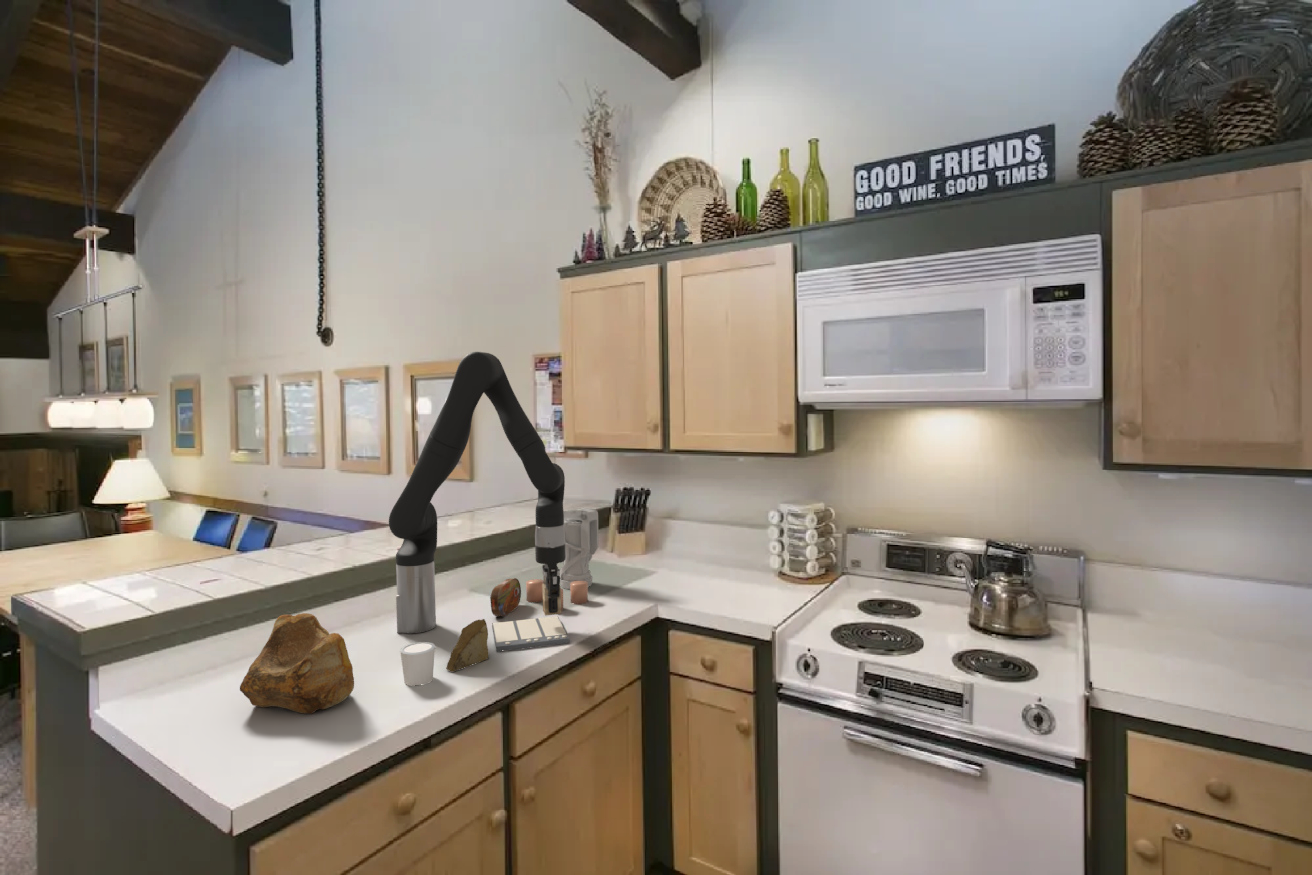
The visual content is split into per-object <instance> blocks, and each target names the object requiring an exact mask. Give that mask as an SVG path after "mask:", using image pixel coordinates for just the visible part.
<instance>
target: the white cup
mask: <svg viewBox="0 0 1312 875" xmlns="http://www.w3.org/2000/svg"><path fill="white" fill-rule="evenodd" d="M399 652H400V658H401V667H402V673H403V680H404V684H405V685H406V684H407V685H406V686H408V685H412V686H411V687H416V686H415V685H421V684H425V685H427V684H429V683H431V682H432V681H433V679H434V670H435V669H434V668H435V667H434V666H435V652H436V645H435V644H434V643H433V642H428V641H427V642H426V641H421V642H414V643H409V644H407V645H404V646H403V647H401V649H400V651H399ZM431 680H432V681H431ZM430 681H431V682H430ZM421 686H422V685H421Z"/></svg>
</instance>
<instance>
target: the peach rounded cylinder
mask: <svg viewBox="0 0 1312 875" xmlns="http://www.w3.org/2000/svg"><path fill="white" fill-rule="evenodd" d="M525 583H526V584H525V585H526V586H525V587H526V602H527V601H528V603H532V602H535V603H540V601H541V602H543V589H542V584H544V583H543V579H539V578H535V579H529V580H526V581H525Z"/></svg>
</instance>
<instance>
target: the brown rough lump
mask: <svg viewBox="0 0 1312 875" xmlns="http://www.w3.org/2000/svg"><path fill="white" fill-rule="evenodd" d="M351 662H352V661H351V659H350V658H349V652H348V648H347V644H346V641H345V639H344V637H342V636H341V635H340V634H339V633H338V632H337V633H336V632H332V633H330V632H329V631H328V630H327V629H325V627H323V626H322V625H321V624H320V622H319V619H318V618H317V617H316V615H314V614H312V613H306V612H304V613H298V614H295V615H292V614H282V615H279V616H278V617H277V618H276V619H275V622H274V623H273V627H272V631H271V633H270V635H269V637H268V640H267V641H266V643H265V645H264V646H263V647H262V649H261V651H260V653H259V654H258V656H257V657H256V658H255V659H254V660H253V662H252V663H251V665H250V666H249V668H248V671H247V672H246V674H245V675H244V677H243V680H242V682H241V683H240V685H239V691H240V692H241V693H243V695H244V696H245V697H246V698H247V699H248V700H249V702H250V704H251V705H252V706H255V707H258V706H259V707H260V708H267V707H280V708H283V709H287V710H290V711H293V712H295V713H296V712H297V713H299V714H300V713H301V714H306V713H308V714H309V715H312V714H314V713H315V712H316V711H318V710H327V709H329V708H331V707H333V706H336V705H338V704H340V703H342V702H343V701H345V700H346V698H348V697H349V696H350V695H351V694H352V692H353V690H354V689H355V677H354V673H353V672H354V671H353V664H352V663H351Z"/></svg>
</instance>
